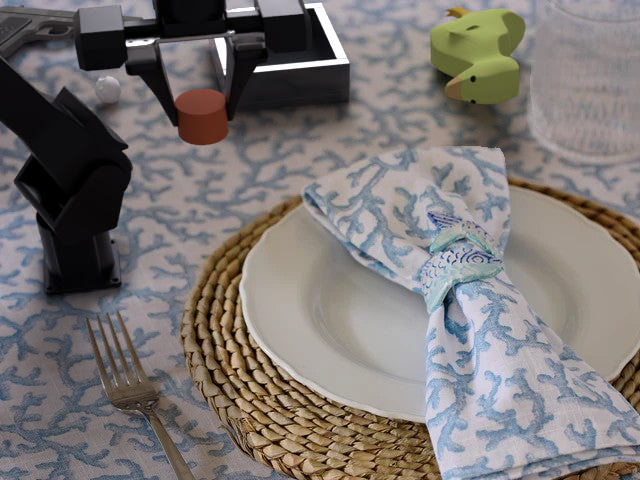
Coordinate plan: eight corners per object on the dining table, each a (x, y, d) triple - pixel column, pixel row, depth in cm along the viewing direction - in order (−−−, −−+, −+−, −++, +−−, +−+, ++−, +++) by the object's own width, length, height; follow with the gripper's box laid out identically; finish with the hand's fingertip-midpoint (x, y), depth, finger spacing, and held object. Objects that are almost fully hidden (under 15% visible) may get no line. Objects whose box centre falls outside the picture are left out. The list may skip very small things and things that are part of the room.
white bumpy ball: (113, 110, 109) (109, 86, 107) (90, 104, 110) (86, 80, 108) (128, 97, 111) (124, 73, 109) (105, 92, 112) (101, 68, 110)
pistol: (116, 58, 114) (146, 12, 122) (-41, 44, 115) (-1, -1, 124) (118, 74, 115) (148, 27, 124) (-37, 60, 116) (3, 14, 125)
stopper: (232, 142, 88) (229, 112, 86) (181, 148, 87) (177, 117, 85) (225, 116, 91) (222, 86, 89) (176, 121, 90) (172, 91, 88)
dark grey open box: (349, 100, 112) (350, 63, 109) (227, 113, 109) (224, 75, 106) (321, 38, 122) (321, 2, 119) (209, 48, 120) (206, 12, 117)
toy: (373, 15, 117) (456, 71, 102) (498, -14, 121) (595, 36, 107) (376, 67, 120) (457, 129, 106) (498, 37, 125) (591, 92, 110)
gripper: (286, -105, 85) (292, 66, 95) (57, -90, 81) (90, 86, 92) (311, -52, 77) (314, 128, 88) (59, -32, 74) (95, 152, 85)
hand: (203, 121), depth 88 cm, fingers closed on stopper, 4 cm apart
